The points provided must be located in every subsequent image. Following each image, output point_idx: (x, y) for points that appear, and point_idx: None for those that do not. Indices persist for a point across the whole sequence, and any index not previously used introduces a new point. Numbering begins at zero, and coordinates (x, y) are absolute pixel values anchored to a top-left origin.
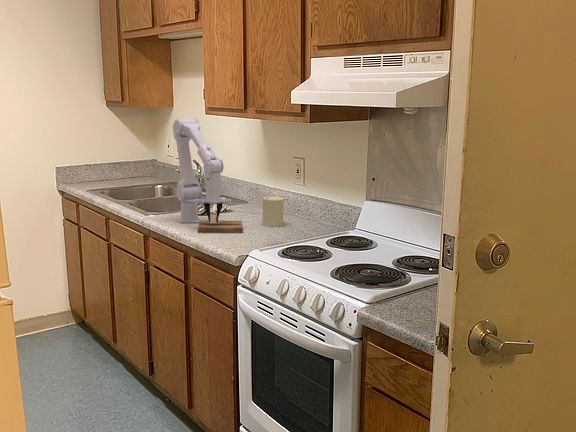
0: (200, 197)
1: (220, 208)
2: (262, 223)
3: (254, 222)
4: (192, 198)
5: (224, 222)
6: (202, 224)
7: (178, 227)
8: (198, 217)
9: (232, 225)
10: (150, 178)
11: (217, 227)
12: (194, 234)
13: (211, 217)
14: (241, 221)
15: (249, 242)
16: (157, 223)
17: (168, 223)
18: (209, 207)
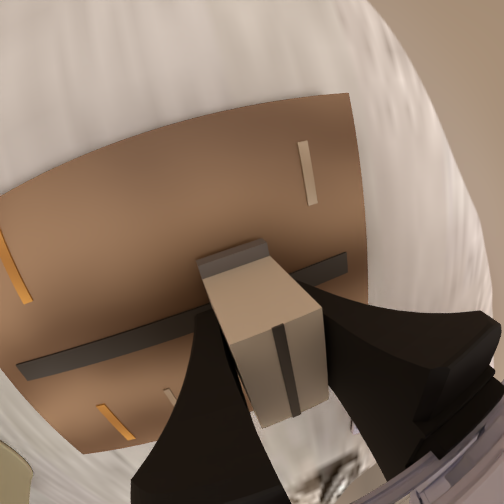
0: (413, 500)
1: (165, 460)
2: (13, 454)
3: (72, 474)
4: (456, 461)
5: (163, 390)
6: (337, 254)
7: (439, 239)
8: (355, 432)
9: (40, 317)
10: (400, 501)
11: (147, 164)
12: (332, 46)
13: (285, 293)
14: (70, 441)
15: None
16: (483, 279)
17: (460, 299)
18: (423, 363)
